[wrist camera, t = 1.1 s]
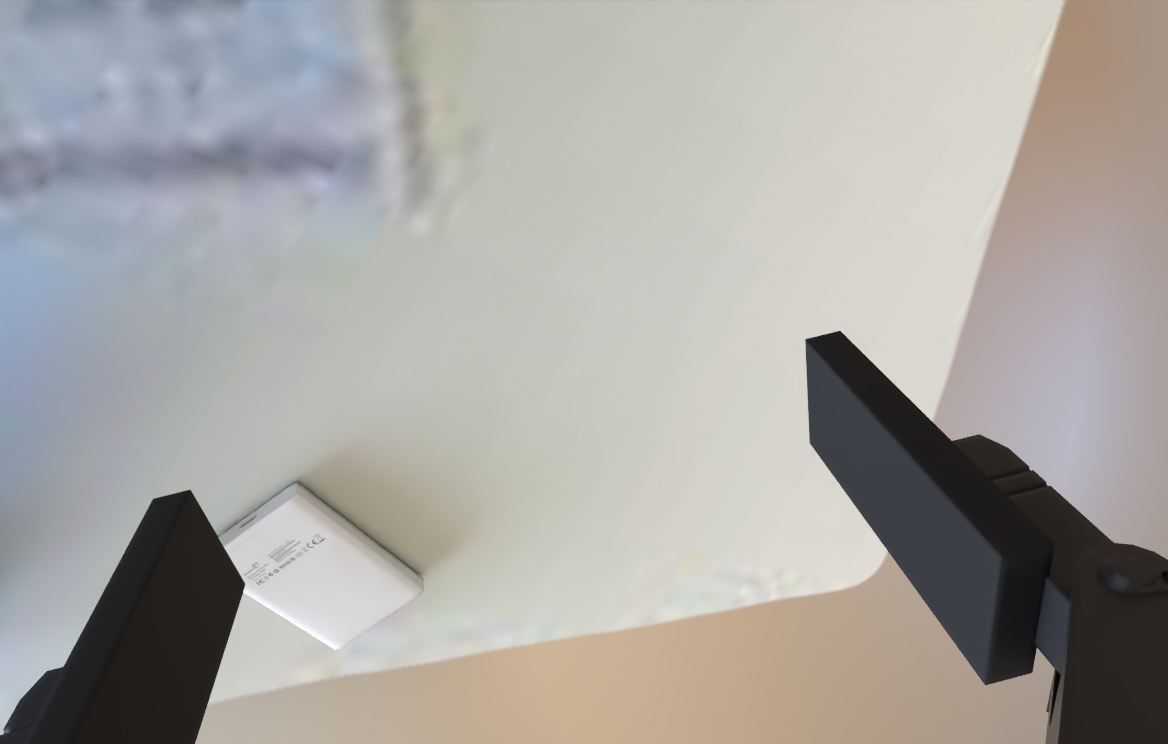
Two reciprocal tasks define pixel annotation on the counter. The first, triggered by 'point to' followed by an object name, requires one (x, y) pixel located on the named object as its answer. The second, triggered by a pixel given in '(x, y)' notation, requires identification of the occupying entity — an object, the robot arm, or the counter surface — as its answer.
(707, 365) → the counter surface
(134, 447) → the counter surface
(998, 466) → the robot arm
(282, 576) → the hard drive
